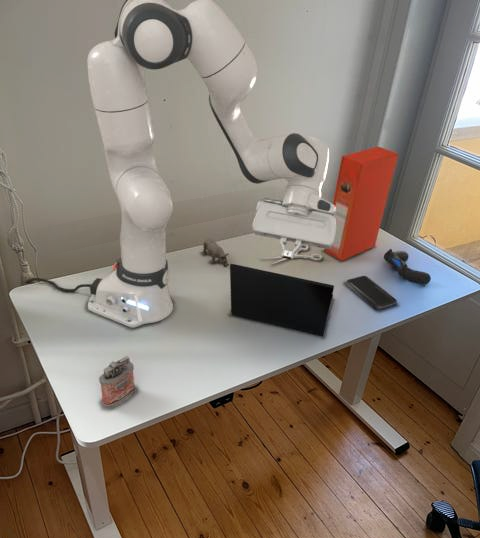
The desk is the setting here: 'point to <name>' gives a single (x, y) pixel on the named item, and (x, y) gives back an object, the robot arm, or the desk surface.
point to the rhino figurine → (215, 252)
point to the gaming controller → (406, 267)
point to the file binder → (361, 200)
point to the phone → (371, 292)
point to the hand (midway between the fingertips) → (286, 258)
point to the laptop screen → (280, 298)
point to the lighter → (117, 382)
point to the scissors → (301, 255)
